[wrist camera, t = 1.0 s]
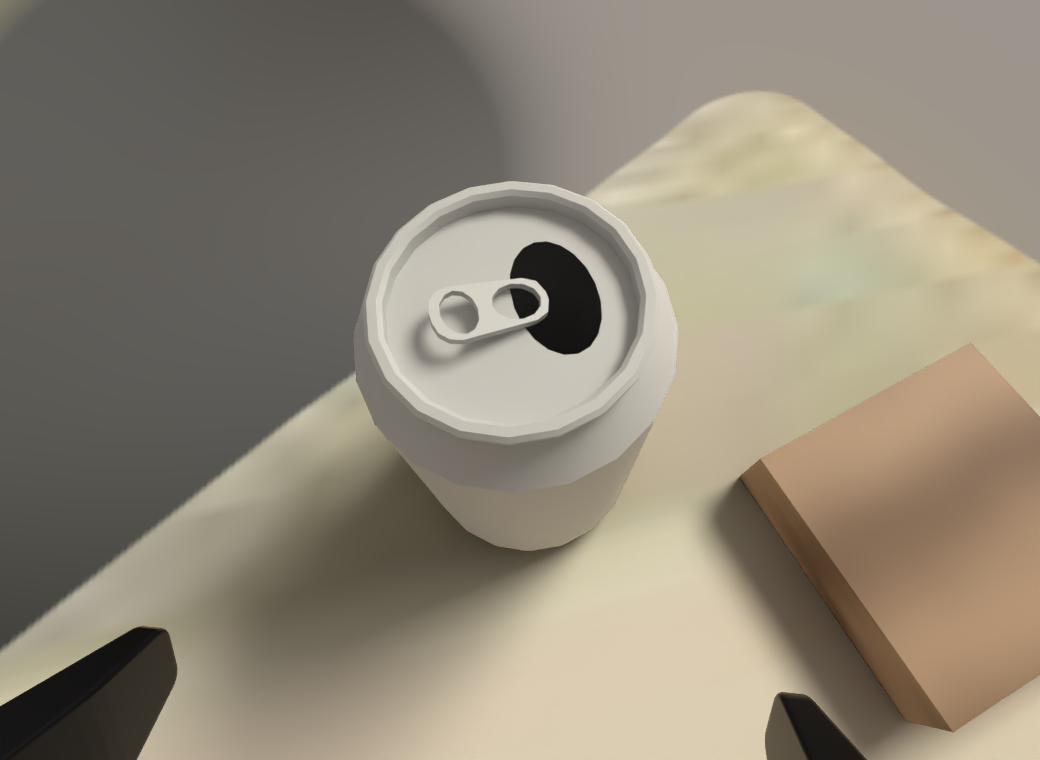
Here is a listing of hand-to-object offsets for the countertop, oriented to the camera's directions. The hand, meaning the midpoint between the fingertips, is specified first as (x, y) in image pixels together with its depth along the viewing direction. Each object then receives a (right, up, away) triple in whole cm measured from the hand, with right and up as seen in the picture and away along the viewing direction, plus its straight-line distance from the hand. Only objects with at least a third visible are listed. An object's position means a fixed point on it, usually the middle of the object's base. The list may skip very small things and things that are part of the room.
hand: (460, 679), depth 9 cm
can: (+1, +1, +15) cm, 15 cm away
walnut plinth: (+15, -1, +13) cm, 20 cm away
